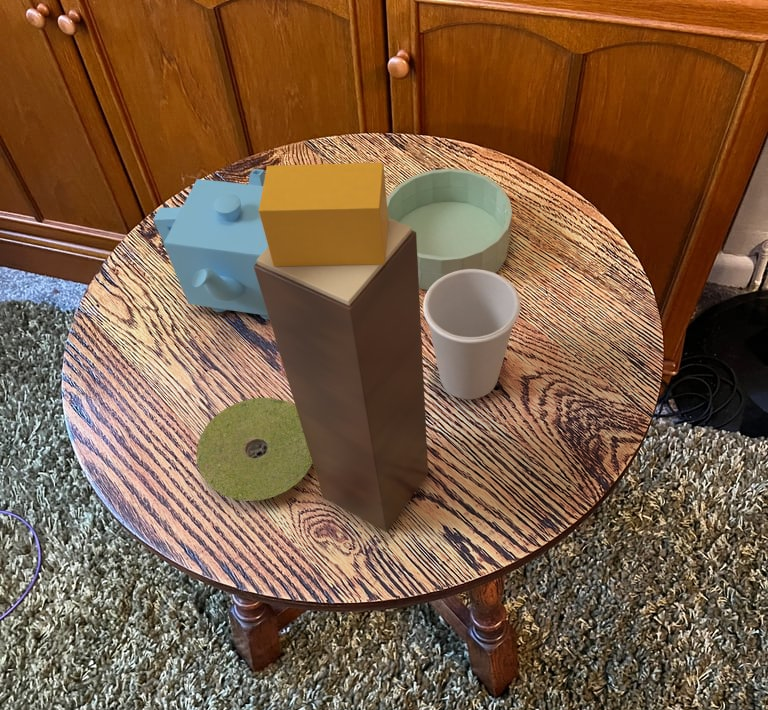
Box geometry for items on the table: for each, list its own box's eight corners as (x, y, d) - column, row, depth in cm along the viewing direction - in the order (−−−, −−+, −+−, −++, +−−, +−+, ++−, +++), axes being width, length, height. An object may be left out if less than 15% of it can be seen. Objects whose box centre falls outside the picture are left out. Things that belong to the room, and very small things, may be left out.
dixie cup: (530, 382, 74) (540, 309, 65) (460, 425, 72) (461, 356, 64) (477, 329, 78) (480, 253, 69) (409, 369, 76) (404, 296, 67)
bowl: (531, 228, 84) (535, 193, 80) (468, 309, 79) (469, 277, 75) (426, 188, 88) (425, 154, 84) (361, 263, 83) (356, 231, 79)
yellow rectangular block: (388, 220, 46) (383, 161, 42) (385, 265, 44) (379, 207, 40) (280, 222, 46) (266, 165, 43) (273, 266, 45) (258, 210, 41)
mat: (251, 391, 76) (246, 379, 74) (343, 439, 73) (341, 428, 71) (178, 475, 72) (171, 464, 70) (272, 531, 69) (267, 521, 67)
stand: (428, 474, 70) (416, 226, 45) (386, 533, 68) (349, 304, 43) (365, 441, 72) (320, 188, 47) (322, 497, 70) (251, 260, 45)
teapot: (342, 241, 85) (327, 151, 75) (293, 368, 77) (270, 287, 67) (209, 224, 88) (178, 136, 78) (150, 346, 80) (107, 264, 70)
